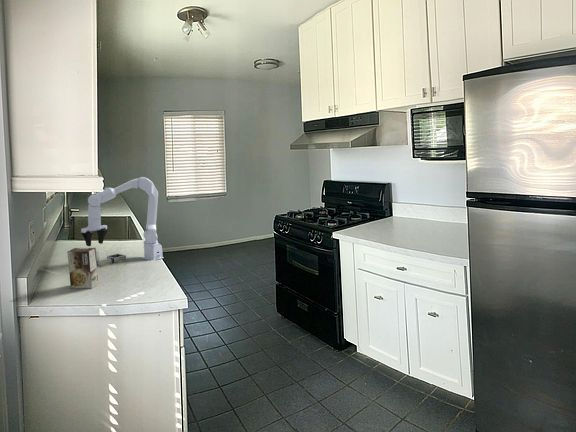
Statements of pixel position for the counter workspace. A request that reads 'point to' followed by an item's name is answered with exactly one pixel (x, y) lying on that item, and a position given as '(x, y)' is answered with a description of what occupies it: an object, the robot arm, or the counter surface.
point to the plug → (101, 255)
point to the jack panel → (112, 260)
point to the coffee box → (82, 267)
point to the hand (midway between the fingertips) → (94, 244)
